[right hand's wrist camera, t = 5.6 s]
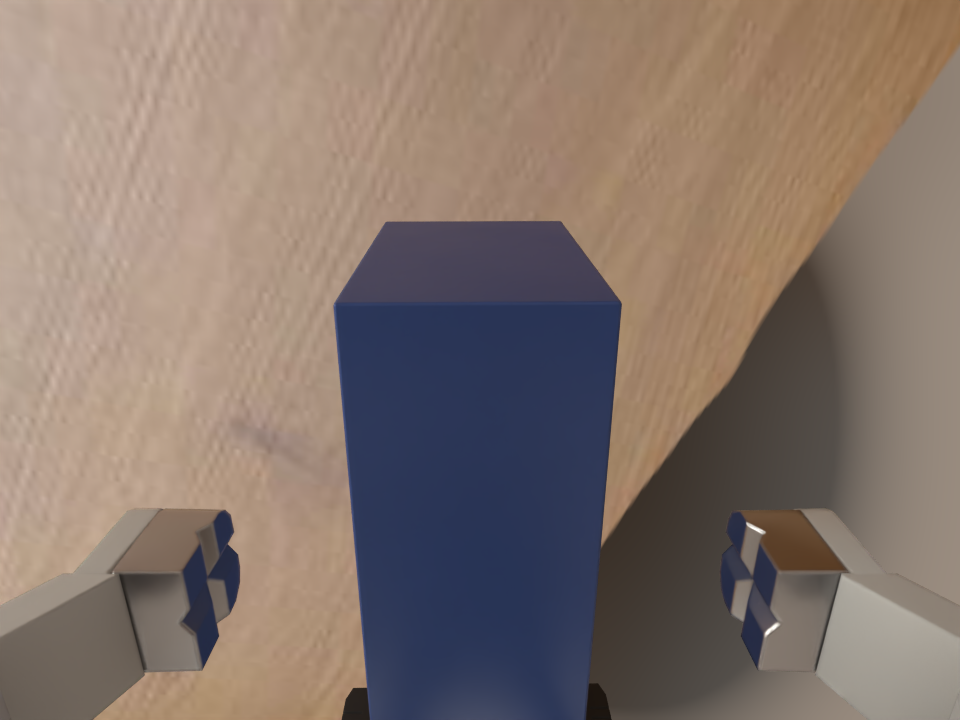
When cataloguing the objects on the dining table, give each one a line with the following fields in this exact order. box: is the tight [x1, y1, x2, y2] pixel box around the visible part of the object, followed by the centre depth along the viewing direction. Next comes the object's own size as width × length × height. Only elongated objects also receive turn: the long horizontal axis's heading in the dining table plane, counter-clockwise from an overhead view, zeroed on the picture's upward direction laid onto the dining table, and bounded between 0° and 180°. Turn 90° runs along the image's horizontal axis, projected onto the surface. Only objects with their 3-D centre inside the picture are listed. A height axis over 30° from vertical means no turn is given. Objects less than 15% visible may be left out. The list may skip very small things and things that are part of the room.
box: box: [334, 221, 622, 720], centre depth 22 cm, size 21×6×9 cm, turn 0°
